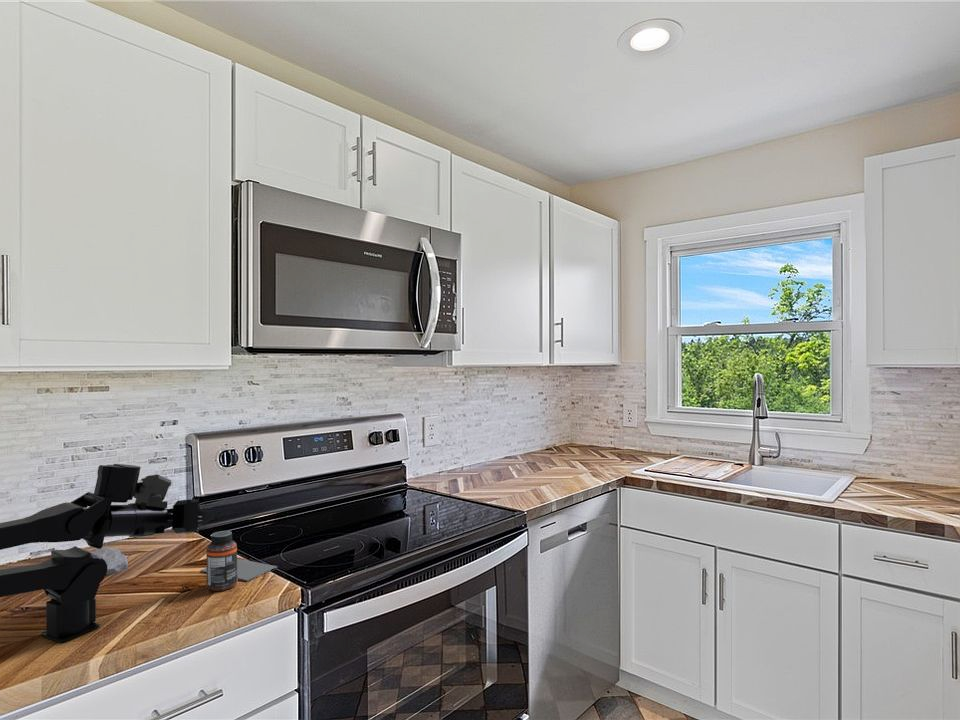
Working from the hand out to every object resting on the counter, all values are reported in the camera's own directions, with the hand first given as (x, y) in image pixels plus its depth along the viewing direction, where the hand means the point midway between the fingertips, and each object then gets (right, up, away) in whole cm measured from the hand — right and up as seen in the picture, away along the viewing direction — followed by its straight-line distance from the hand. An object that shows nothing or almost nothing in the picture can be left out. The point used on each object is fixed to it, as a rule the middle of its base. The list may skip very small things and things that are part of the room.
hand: (198, 517), depth 126 cm
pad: (+5, -14, +9) cm, 17 cm away
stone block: (-27, -15, +7) cm, 31 cm away
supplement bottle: (+5, -15, -1) cm, 16 cm away
